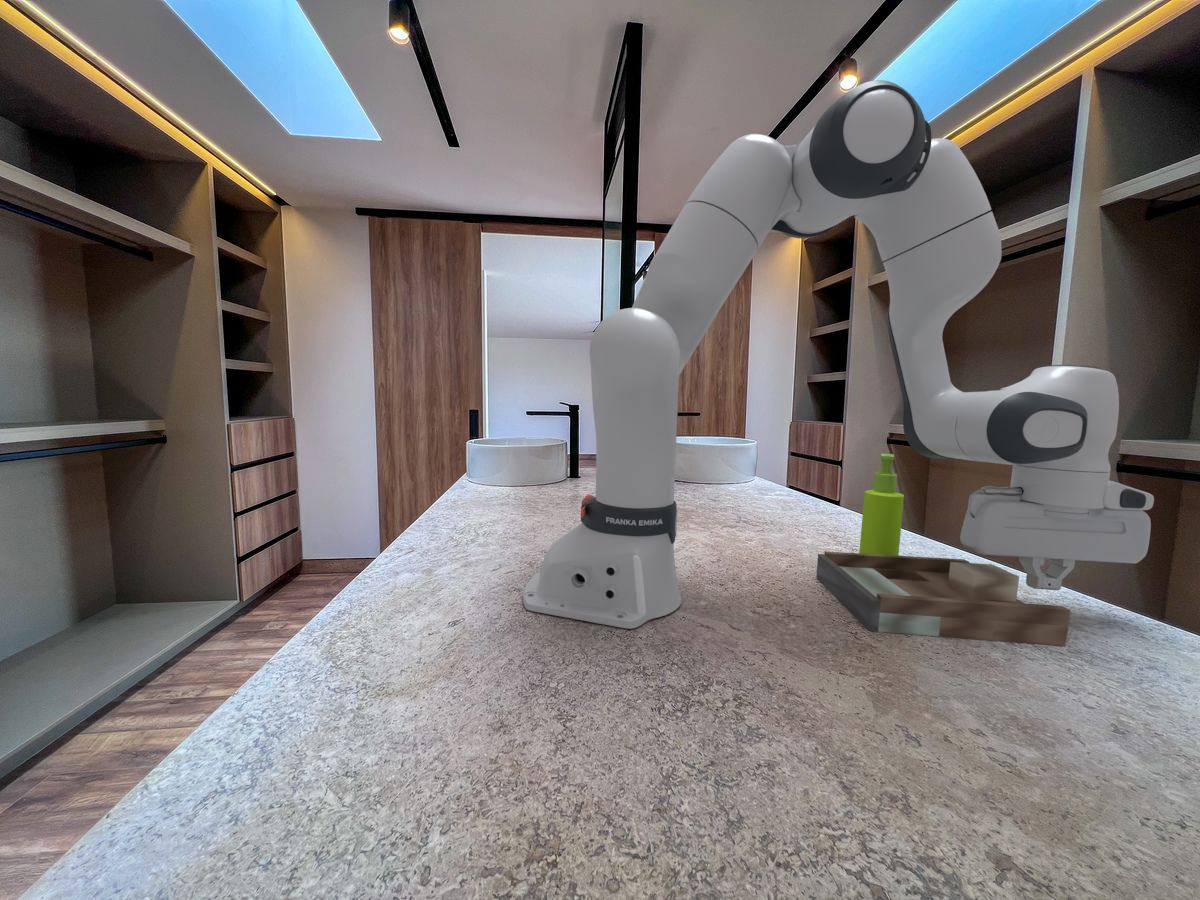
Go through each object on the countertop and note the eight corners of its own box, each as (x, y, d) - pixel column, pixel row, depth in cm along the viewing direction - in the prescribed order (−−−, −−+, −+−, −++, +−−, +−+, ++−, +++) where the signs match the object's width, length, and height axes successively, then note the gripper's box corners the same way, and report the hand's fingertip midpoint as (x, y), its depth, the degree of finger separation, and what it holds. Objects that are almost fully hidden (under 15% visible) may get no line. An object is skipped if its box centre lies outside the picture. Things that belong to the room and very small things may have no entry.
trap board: (869, 631, 53) (872, 596, 52) (816, 577, 70) (818, 551, 69) (1065, 645, 50) (1070, 610, 50) (961, 586, 67) (964, 559, 67)
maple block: (971, 598, 57) (974, 573, 57) (947, 585, 62) (950, 561, 61) (1016, 601, 57) (1019, 576, 56) (989, 587, 61) (992, 564, 61)
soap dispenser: (896, 561, 78) (906, 453, 76) (898, 572, 73) (909, 457, 71) (859, 554, 82) (867, 451, 80) (858, 565, 76) (867, 454, 74)
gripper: (990, 489, 55) (977, 592, 56) (1170, 497, 52) (1152, 604, 54) (955, 481, 61) (944, 574, 62) (1114, 488, 59) (1100, 583, 60)
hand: (1042, 588), depth 58 cm, fingers closed
